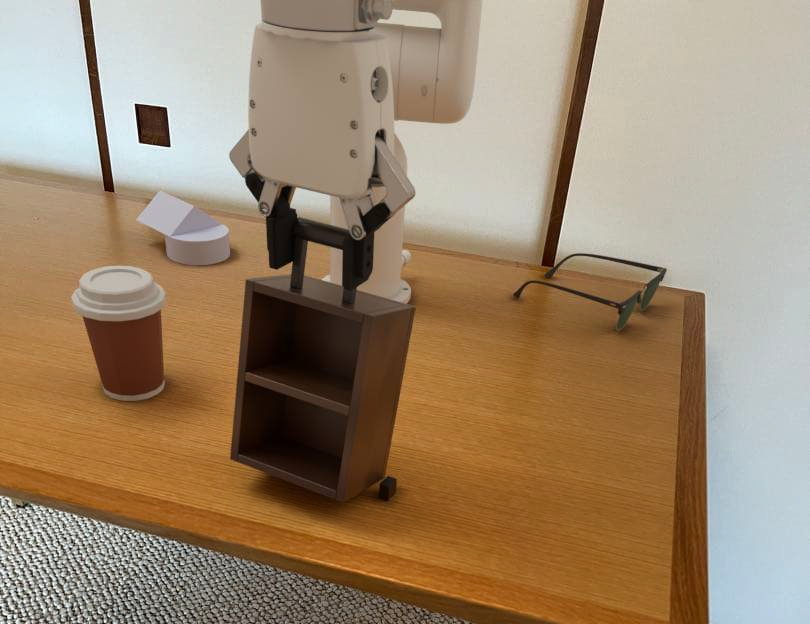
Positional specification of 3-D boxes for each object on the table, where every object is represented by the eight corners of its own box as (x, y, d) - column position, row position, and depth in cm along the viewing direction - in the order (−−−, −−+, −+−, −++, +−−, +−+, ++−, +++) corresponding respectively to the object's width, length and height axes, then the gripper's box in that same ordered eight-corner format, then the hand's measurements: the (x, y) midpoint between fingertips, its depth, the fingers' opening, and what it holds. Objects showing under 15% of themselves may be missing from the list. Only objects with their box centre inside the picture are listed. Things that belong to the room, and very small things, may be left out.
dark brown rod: (267, 445, 81) (267, 431, 80) (396, 492, 76) (397, 478, 75) (258, 452, 80) (257, 438, 79) (388, 501, 75) (388, 487, 74)
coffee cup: (77, 378, 89) (53, 271, 81) (156, 359, 93) (141, 255, 86) (109, 416, 83) (87, 304, 76) (191, 393, 88) (179, 285, 80)
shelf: (305, 209, 70) (251, 208, 64) (428, 240, 66) (384, 242, 60) (278, 439, 80) (229, 459, 73) (385, 478, 76) (343, 502, 70)
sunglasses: (553, 270, 122) (560, 237, 119) (661, 302, 116) (670, 267, 112) (501, 304, 111) (507, 268, 108) (616, 341, 105) (625, 304, 102)
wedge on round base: (139, 243, 120) (190, 270, 114) (132, 195, 116) (185, 221, 109) (190, 230, 125) (242, 255, 119) (185, 185, 121) (239, 208, 115)
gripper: (461, 18, 53) (436, 285, 65) (245, -14, 59) (258, 237, 70) (408, 30, 48) (391, 318, 59) (176, -6, 53) (202, 263, 65)
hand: (319, 272), depth 65 cm, fingers closed on shelf, 6 cm apart
